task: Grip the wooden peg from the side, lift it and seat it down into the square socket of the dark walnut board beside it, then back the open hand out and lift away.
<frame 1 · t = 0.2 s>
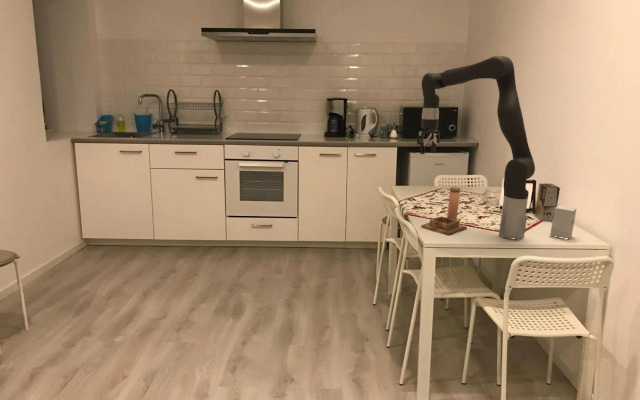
hand: (427, 153, 241), 29 cm above the table, tool pointing down, fingers open, 8 cm apart
walnut socket board: (443, 228, 225), on the table
wooden peg: (451, 220, 237), on the table
supplement box: (560, 236, 221), on the table
coffee box: (544, 218, 247), on the table
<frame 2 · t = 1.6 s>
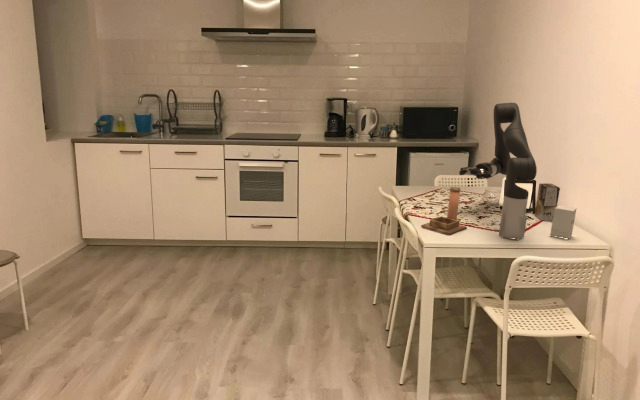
hand: (468, 174, 239), 20 cm above the table, tool horizontal, fingers open, 8 cm apart
nothing on the table moved.
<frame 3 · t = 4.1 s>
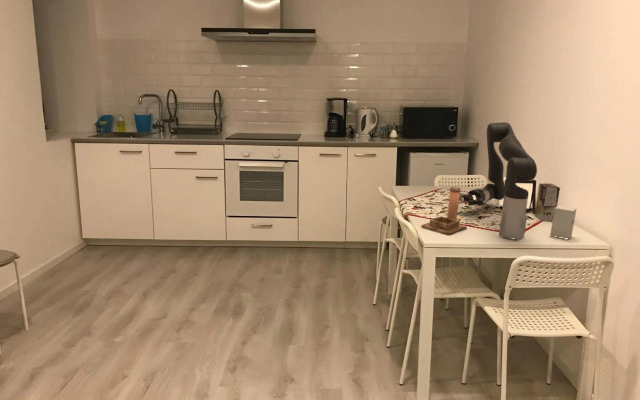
hand: (460, 201, 239), 8 cm above the table, tool horizontal, fingers open, 8 cm apart
nothing on the table moved.
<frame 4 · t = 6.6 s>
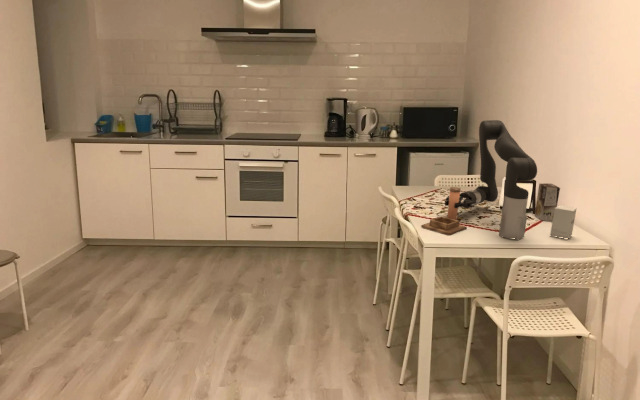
hand: (450, 204, 233), 8 cm above the table, tool horizontal, fingers closed on wooden peg, 4 cm apart
wooden peg: (451, 220, 237), on the table, touching gripper
everything else where it was.
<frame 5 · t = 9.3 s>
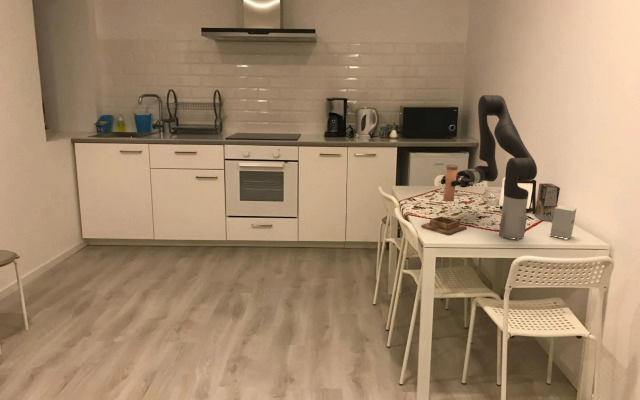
hand: (447, 183, 221), 20 cm above the table, tool horizontal, fingers closed on wooden peg, 4 cm apart
wooden peg: (448, 200, 225), point 12 cm above the table, touching gripper
everything else where it was.
when the fingers open (10 cm above the table, at t = 12.3 s): wooden peg drops 1 cm, resting on walnut socket board.
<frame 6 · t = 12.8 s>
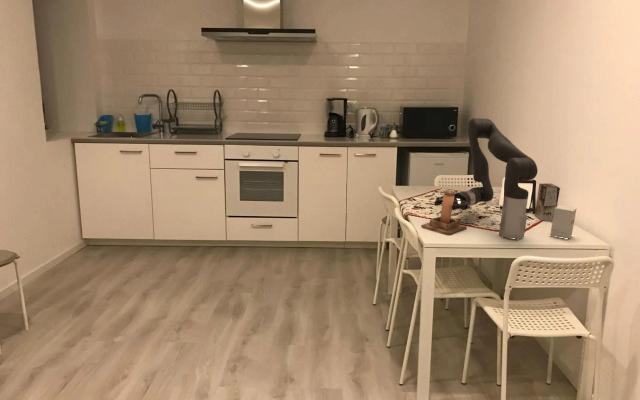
hand: (443, 205, 221), 11 cm above the table, tool horizontal, fingers open, 8 cm apart
wooden peg: (444, 225, 225), point 1 cm above the table, touching walnut socket board
everything else where it was.
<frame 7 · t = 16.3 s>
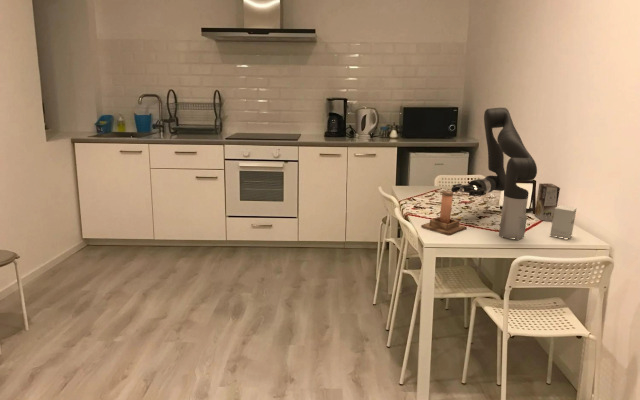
hand: (461, 191, 229), 15 cm above the table, tool horizontal, fingers open, 8 cm apart
nothing on the table moved.
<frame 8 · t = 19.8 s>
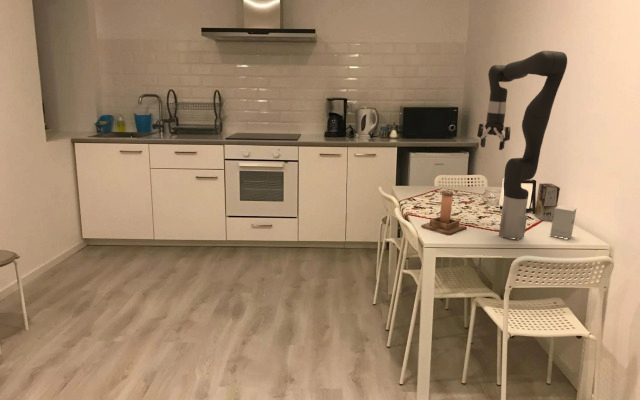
hand: (491, 148, 233), 33 cm above the table, tool pointing down, fingers open, 8 cm apart
nothing on the table moved.
at the end: wooden peg 0.1 cm off-centre on the walnut socket board, point 1.0 cm above the walnut socket board's base; wooden peg tilted 0°; the gripper is holding nothing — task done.
